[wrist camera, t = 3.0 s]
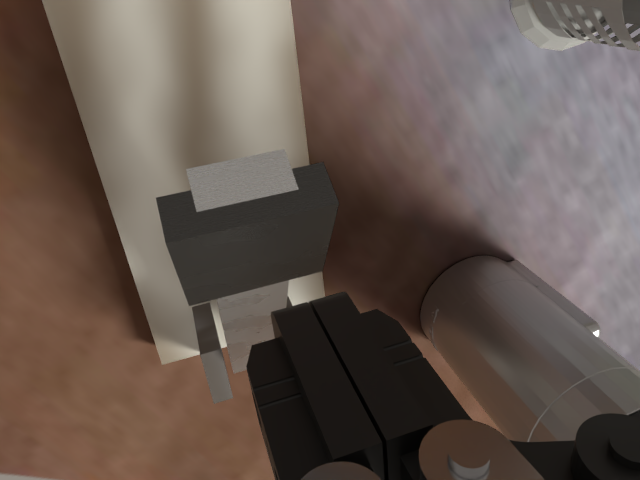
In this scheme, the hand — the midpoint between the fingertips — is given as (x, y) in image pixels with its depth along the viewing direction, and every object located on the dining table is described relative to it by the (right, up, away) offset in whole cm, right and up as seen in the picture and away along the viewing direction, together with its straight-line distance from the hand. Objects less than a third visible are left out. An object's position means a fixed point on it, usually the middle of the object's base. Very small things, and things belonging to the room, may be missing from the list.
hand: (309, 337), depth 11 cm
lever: (-3, 0, +14) cm, 15 cm away
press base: (-7, +6, +23) cm, 25 cm away
